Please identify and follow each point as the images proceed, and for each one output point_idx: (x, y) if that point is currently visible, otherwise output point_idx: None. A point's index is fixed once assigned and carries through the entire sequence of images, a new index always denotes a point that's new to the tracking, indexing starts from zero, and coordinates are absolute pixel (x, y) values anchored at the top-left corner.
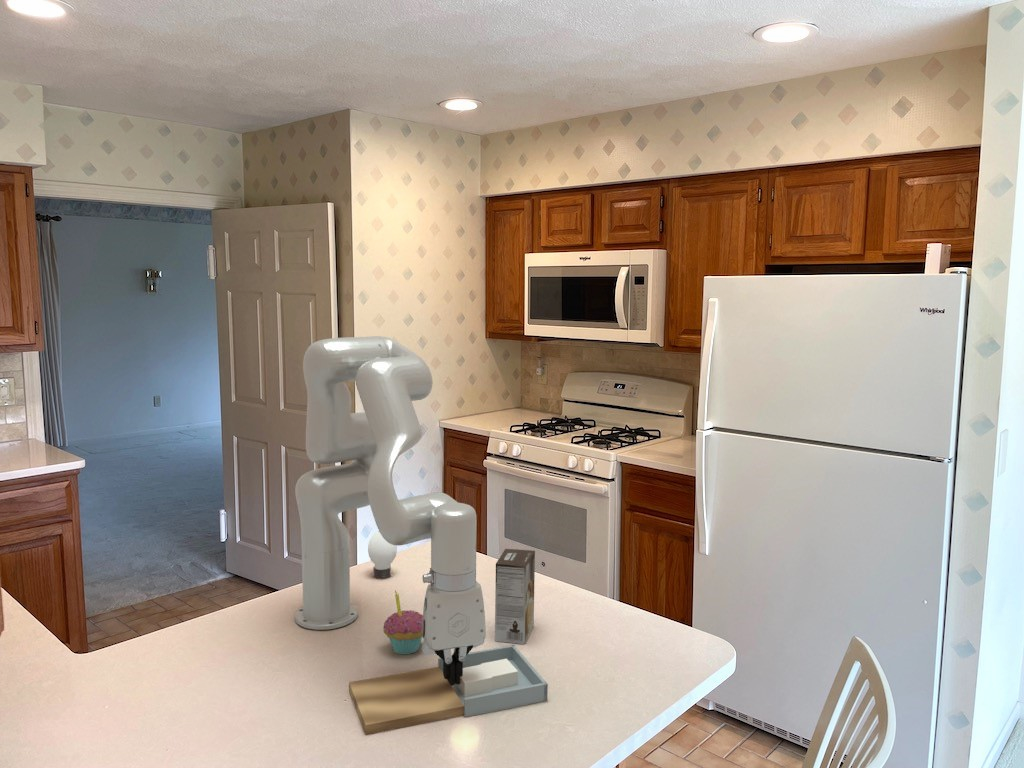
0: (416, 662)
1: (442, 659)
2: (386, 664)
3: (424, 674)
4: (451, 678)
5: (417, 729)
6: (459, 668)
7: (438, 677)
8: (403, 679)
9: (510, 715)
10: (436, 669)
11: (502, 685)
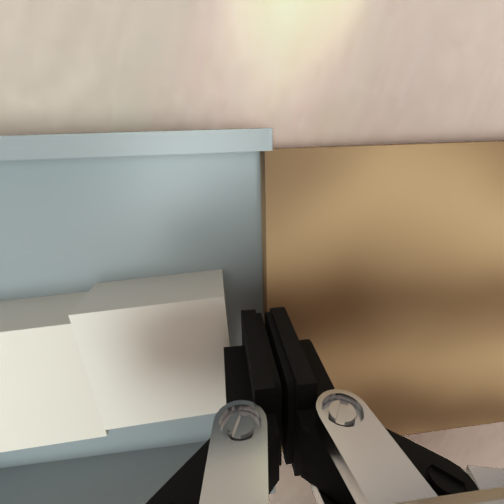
0: (307, 492)
1: None
2: None
3: None
4: (291, 324)
5: (460, 107)
6: (255, 360)
7: None
8: (413, 399)
9: (40, 73)
10: None
11: (37, 300)
